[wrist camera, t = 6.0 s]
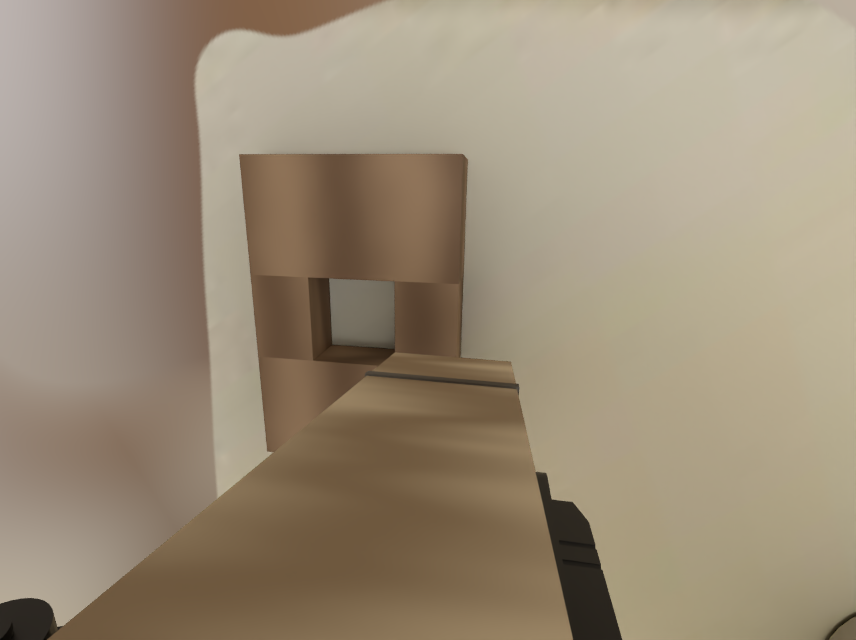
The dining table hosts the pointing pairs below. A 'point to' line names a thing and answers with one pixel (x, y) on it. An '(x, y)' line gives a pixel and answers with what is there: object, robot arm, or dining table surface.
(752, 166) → the dining table surface
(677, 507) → the dining table surface
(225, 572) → the beech peg
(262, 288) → the walnut board
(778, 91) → the dining table surface
